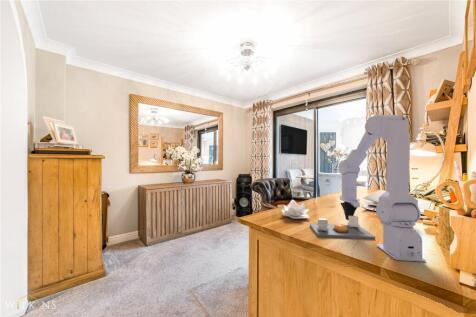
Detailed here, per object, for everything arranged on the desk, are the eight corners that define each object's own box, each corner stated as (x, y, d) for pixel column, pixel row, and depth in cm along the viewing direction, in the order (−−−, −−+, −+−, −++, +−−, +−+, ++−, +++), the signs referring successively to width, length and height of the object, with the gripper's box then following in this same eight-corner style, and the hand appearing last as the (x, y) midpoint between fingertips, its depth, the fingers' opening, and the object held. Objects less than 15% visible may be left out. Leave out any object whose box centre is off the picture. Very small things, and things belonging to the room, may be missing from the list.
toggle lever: (359, 227, 79) (359, 217, 79) (350, 226, 80) (350, 216, 80) (356, 225, 82) (356, 215, 82) (347, 224, 82) (347, 215, 82)
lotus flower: (311, 215, 102) (311, 198, 102) (309, 224, 88) (309, 204, 88) (283, 212, 107) (283, 196, 107) (277, 220, 94) (277, 202, 94)
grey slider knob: (328, 230, 75) (328, 220, 75) (318, 230, 75) (318, 220, 75) (326, 228, 77) (326, 218, 77) (317, 228, 78) (317, 218, 78)
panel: (375, 240, 70) (375, 236, 70) (317, 237, 73) (317, 233, 73) (358, 228, 82) (358, 225, 82) (309, 226, 85) (309, 223, 85)
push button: (348, 232, 74) (348, 227, 74) (336, 231, 75) (336, 227, 75) (344, 228, 78) (344, 224, 78) (332, 227, 79) (332, 223, 79)
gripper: (367, 191, 77) (368, 225, 77) (351, 186, 91) (351, 215, 91) (349, 191, 78) (349, 225, 78) (335, 186, 92) (335, 214, 92)
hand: (349, 219), depth 85 cm, fingers closed
